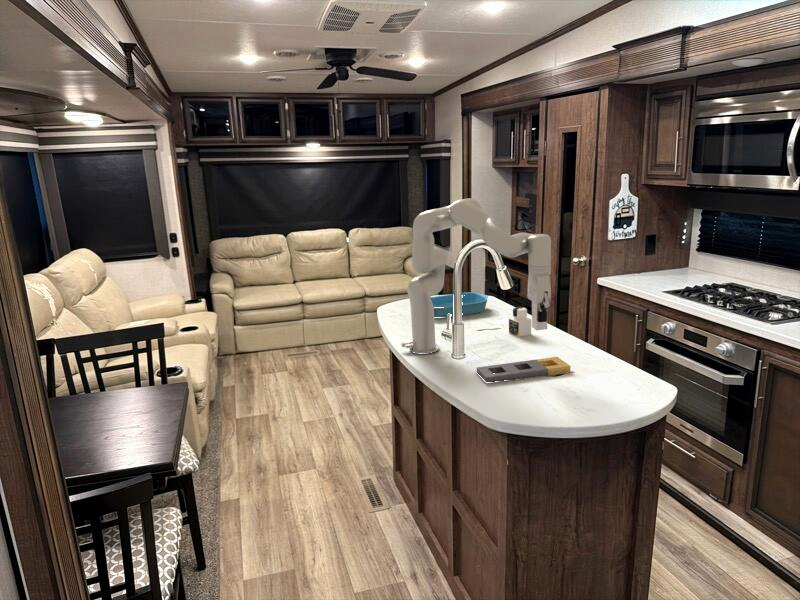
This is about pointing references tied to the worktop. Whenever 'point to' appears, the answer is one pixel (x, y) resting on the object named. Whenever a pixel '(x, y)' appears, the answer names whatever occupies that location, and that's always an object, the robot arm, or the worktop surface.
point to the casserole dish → (470, 305)
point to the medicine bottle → (520, 322)
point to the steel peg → (535, 323)
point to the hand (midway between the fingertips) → (539, 319)
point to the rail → (523, 369)
